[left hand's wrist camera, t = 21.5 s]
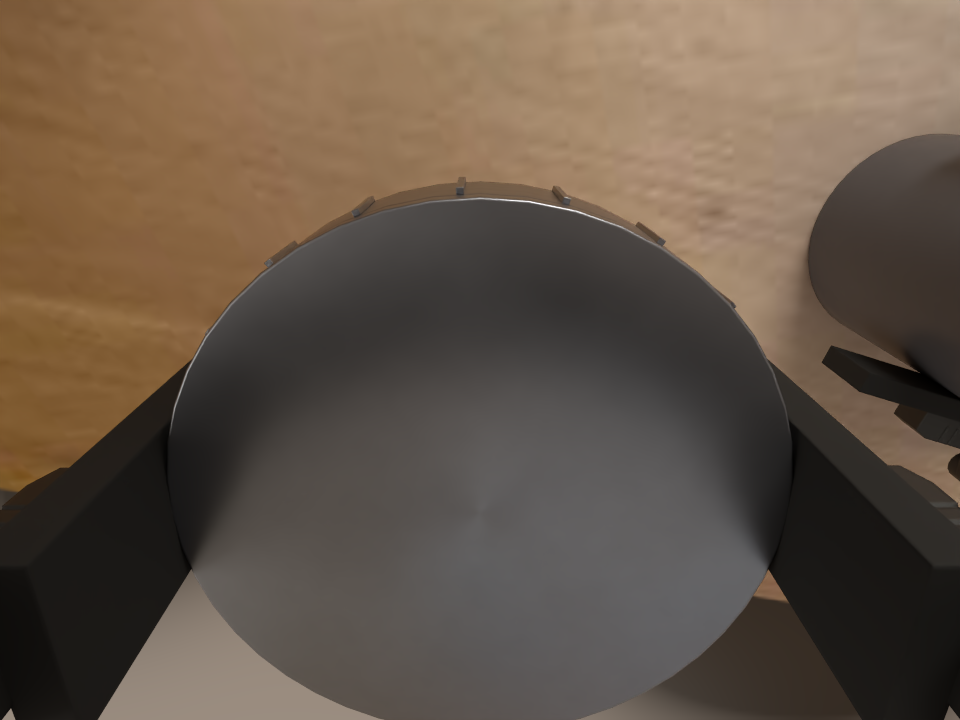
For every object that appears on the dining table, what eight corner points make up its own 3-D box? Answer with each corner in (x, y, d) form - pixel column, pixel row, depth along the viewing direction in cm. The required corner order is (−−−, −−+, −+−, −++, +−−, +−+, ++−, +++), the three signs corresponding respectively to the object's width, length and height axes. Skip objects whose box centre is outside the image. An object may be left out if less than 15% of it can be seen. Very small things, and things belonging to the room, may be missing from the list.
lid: (759, 135, 10) (821, 141, 8) (744, 629, 14) (784, 709, 12) (136, 220, 10) (65, 243, 9) (285, 675, 14) (257, 758, 12)
